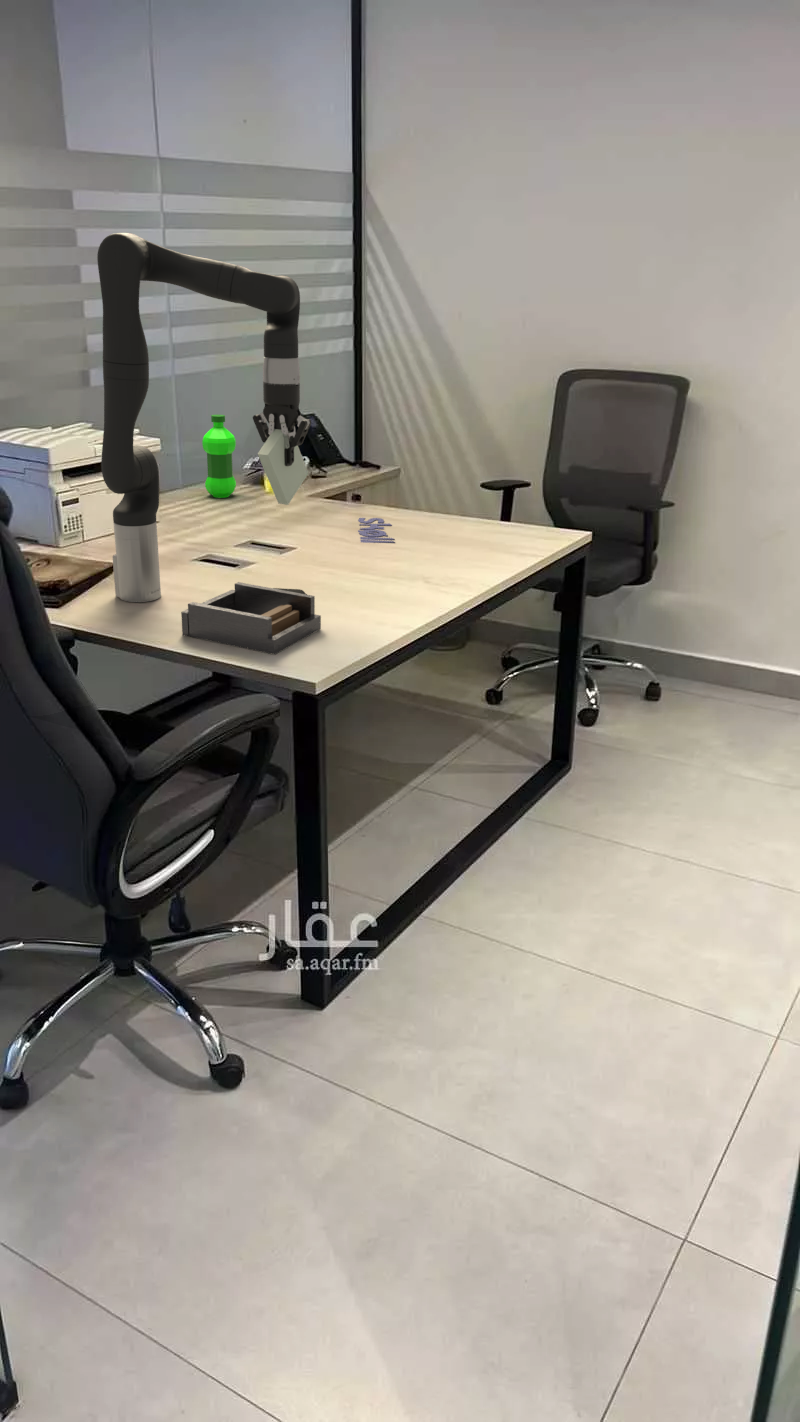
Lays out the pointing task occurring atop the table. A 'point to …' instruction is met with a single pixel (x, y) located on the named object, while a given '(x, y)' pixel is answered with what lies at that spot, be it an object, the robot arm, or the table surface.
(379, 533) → the signage
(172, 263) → the robot arm
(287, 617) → the offcut stack
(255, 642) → the tray
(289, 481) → the pale green flat block
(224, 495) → the plastic bottle
